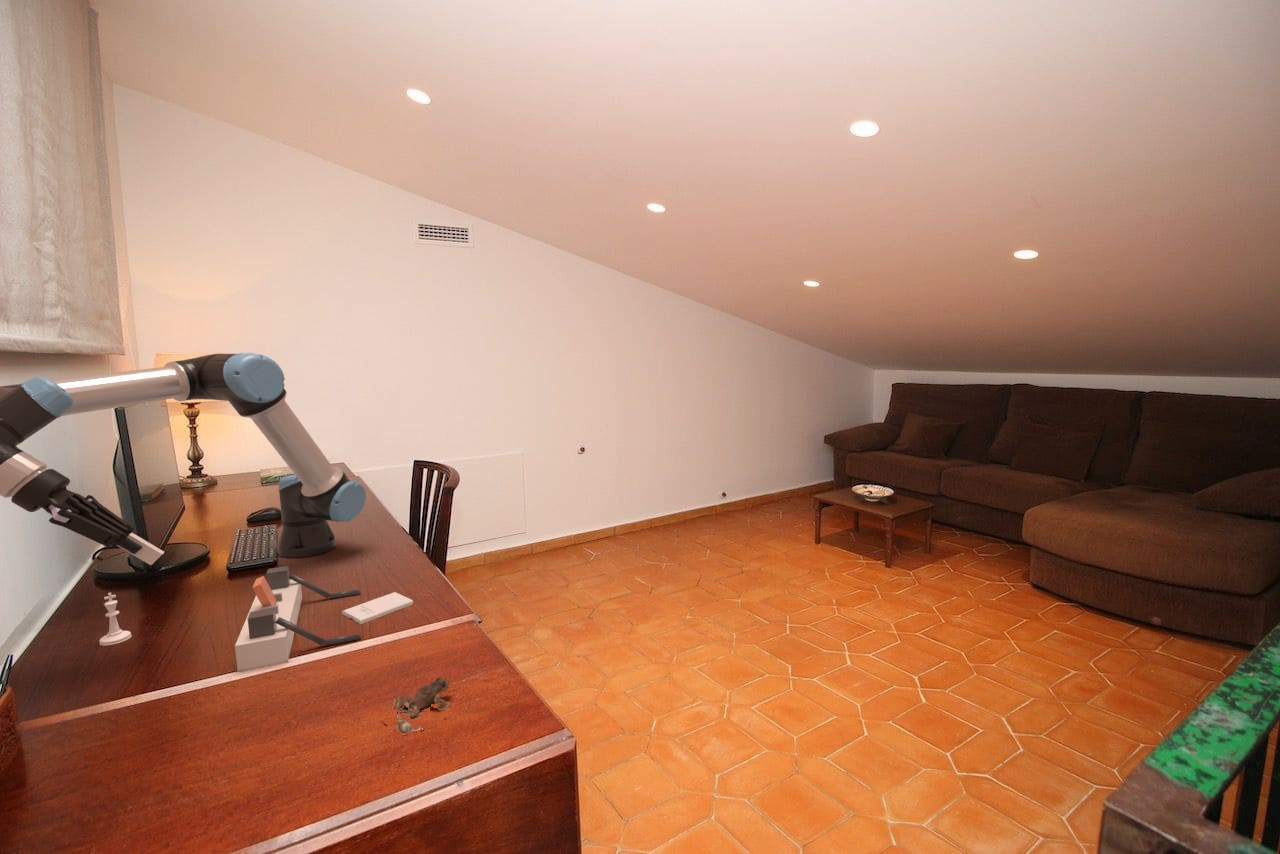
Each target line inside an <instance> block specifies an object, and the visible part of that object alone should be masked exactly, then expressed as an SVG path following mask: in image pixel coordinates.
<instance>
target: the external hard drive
mask: <svg viewBox="0 0 1280 854" xmlns="http://www.w3.org/2000/svg"><path fill="white" fill-rule="evenodd" d="M412 605H414V600H413V599H411V598H409V597H406V596H404V595H402V594H401V593H398V592H396V591H393V592H390V593H389V594H386V595H383V596H380V597H377V598H374V599H372V600H368V601H366V602H363V603H361V604H357V605H355V606H352V607H350V608H346V609H344V610H342V611H341V614H342V615H343V616H344V617H347V618H349V619H352V620H353V621H354V622H355V623H358V624H360V625H363V624H365V623H368V622H370V621H373V620H377V619H378V618H381V617H384V616H387V615H389V614H391V613H395V612H397V611H399V610H402V609H405V608H407V607H410V606H412Z"/></svg>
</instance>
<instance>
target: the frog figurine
mask: <svg viewBox="0 0 1280 854" xmlns="http://www.w3.org/2000/svg"><path fill="white" fill-rule="evenodd" d="M449 687H450V680H449V679H447V678H445V679H443V678H441V677H437V678H435V680H434V681H432V682H431V683H430V684H428V685H424V686H421V687H420V688H419V689H418V690H417V691H416V693H415V694H414V696H413V698H411V697H410V696H409V695H404V694H401V695H400V696H398V698H397V697H394V699H393V703H392V704H393V705H392V708H393V707H394V709H397V710H398V714H397V718H398V726H397V728H398V730H399V731H400V732H401V733H408V732H410V731H418V730H420V729H421V727H420V728H418V729H417V730H414V729H412V728H411V724H410V723H409V722H408V721H406V720H405V719H402V718H401V717H400V714H401V713H405V714H406V715H408V716H409V718H411V719H415V718H418V717H419V715H420V714H422V713H423V712H424V711H422V710H424V709H427V708H429V707H431V704H432V703H436V704H438V705H440V706H437V707H438V708H439V709H443V710H444V709H447V708H449V707H450V708H451V706H450V704H451V705H452V703H451V702H449V701H446V700H444V699H442V698H440V697H441V695H442V693H443V692H446V691H448V690H449ZM403 695H404V696H403ZM403 706H404V709H400V708H402V707H403ZM405 707H406V709H407V708H408V709H409V710H406V709H405ZM381 720H383V718H382V719H381ZM422 730H423V728H422Z"/></svg>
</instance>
